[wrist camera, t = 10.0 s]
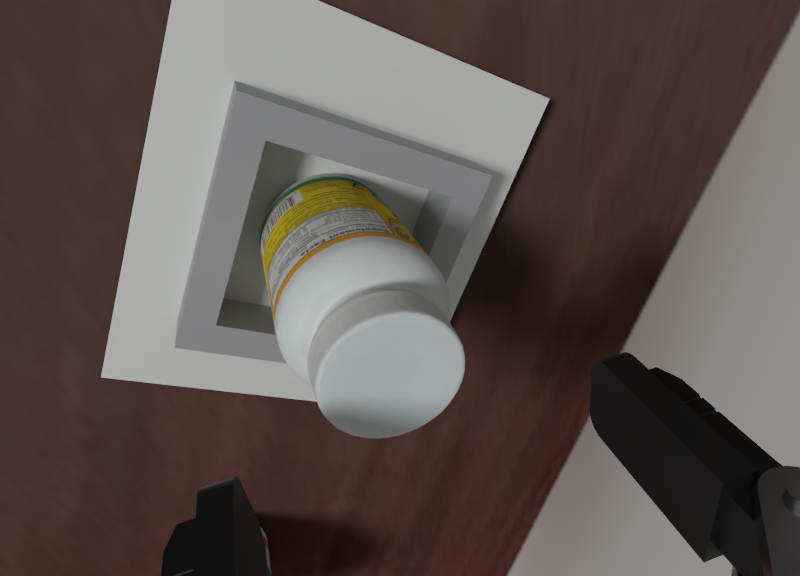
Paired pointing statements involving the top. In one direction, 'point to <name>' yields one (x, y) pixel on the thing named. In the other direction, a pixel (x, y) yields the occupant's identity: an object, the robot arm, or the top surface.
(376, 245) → the supplement bottle
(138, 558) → the top surface
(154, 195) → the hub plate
